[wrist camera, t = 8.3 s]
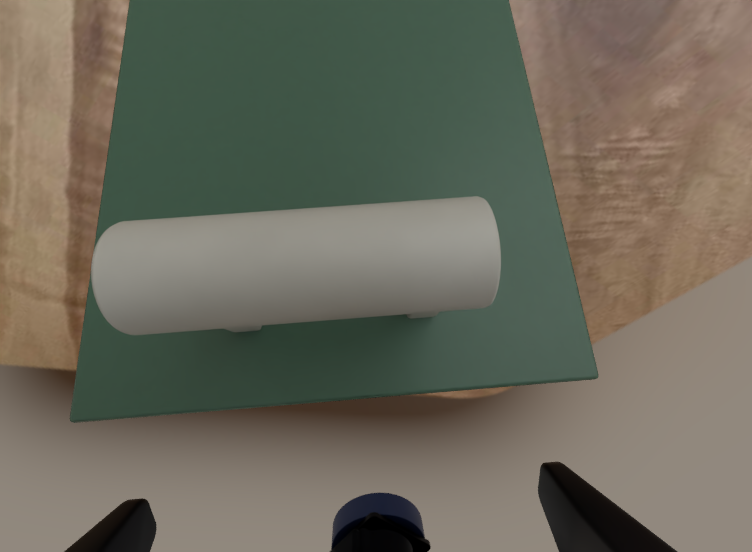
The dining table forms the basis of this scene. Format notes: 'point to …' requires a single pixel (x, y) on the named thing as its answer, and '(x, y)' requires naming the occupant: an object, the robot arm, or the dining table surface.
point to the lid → (323, 211)
